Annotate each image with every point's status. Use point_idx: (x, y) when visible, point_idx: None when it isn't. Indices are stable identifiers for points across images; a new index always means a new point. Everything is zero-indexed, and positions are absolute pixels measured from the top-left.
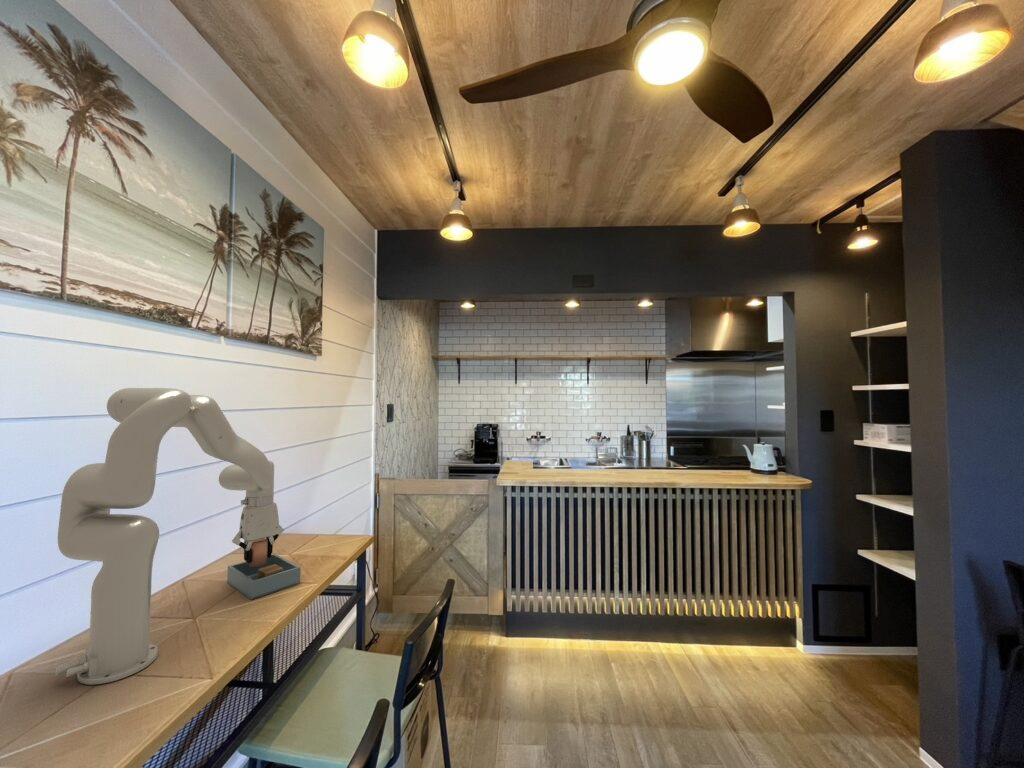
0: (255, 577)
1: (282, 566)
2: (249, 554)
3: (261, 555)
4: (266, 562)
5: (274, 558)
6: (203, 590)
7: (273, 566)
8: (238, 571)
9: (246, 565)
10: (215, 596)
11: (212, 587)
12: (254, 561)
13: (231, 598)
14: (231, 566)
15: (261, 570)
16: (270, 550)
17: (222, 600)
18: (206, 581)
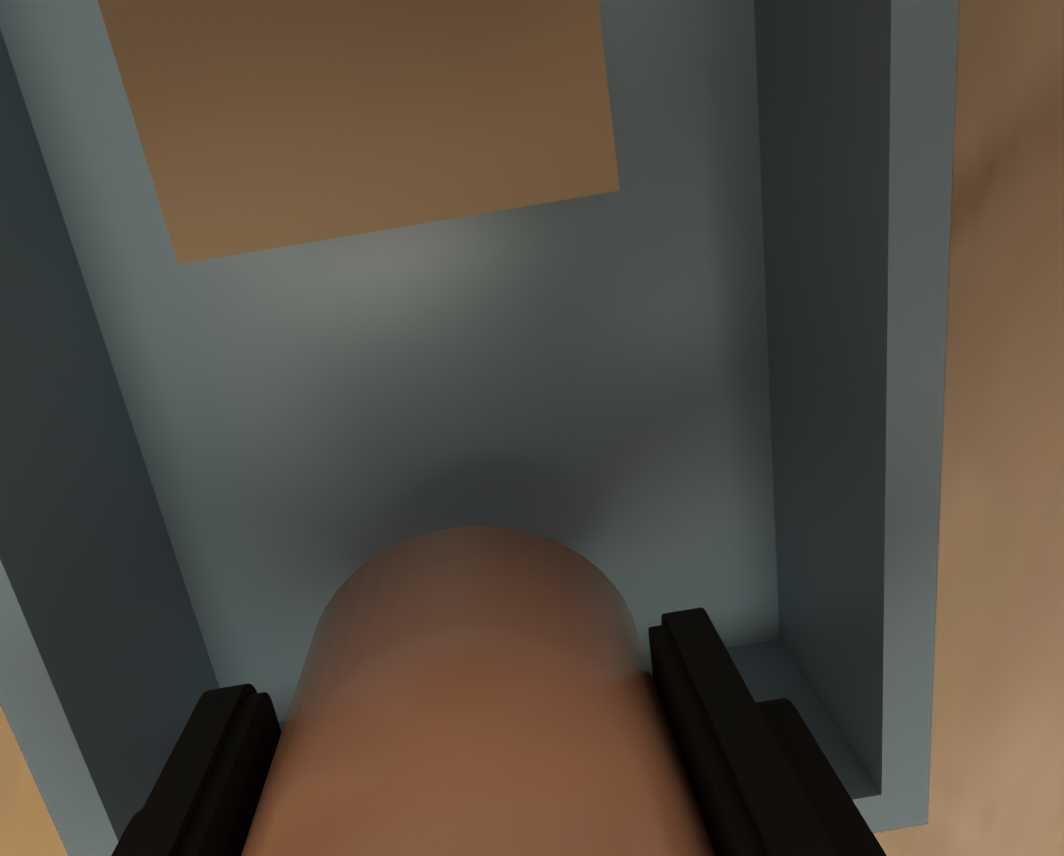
0: None
1: (73, 482)
2: (782, 760)
3: (449, 666)
4: (336, 598)
5: None
6: (1052, 607)
7: (254, 102)
8: (903, 462)
9: None
10: (1041, 324)
11: (955, 631)
12: (596, 619)
13: None
14: (891, 781)
15: (579, 19)
16: (162, 814)
17: (1040, 107)
18: (933, 830)
